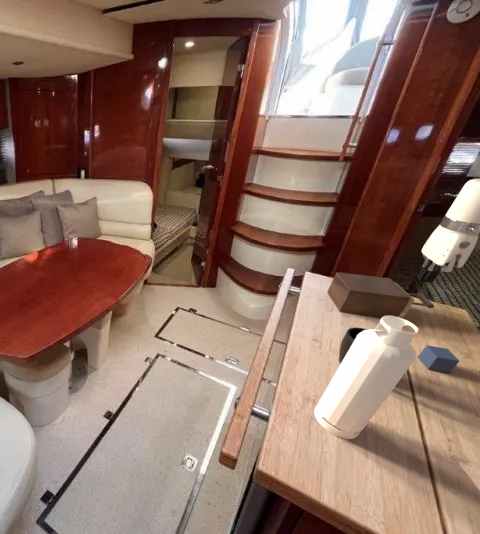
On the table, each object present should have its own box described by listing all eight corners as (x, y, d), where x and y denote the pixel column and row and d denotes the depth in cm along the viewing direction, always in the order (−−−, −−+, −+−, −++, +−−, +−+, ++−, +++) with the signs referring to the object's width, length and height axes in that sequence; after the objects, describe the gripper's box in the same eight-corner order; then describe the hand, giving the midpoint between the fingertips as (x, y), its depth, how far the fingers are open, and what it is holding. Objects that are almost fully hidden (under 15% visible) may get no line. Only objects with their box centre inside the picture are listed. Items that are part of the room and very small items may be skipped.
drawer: (411, 302, 102) (421, 285, 99) (430, 321, 94) (443, 304, 90) (337, 292, 108) (345, 276, 104) (350, 309, 99) (359, 292, 96)
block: (438, 360, 81) (447, 348, 79) (449, 373, 78) (459, 361, 76) (417, 357, 83) (426, 345, 80) (427, 369, 79) (437, 357, 77)
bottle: (367, 443, 63) (445, 344, 49) (322, 433, 65) (385, 335, 51) (348, 409, 70) (412, 313, 56) (308, 401, 72) (360, 307, 58)
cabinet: (378, 299, 105) (390, 278, 101) (396, 320, 96) (410, 298, 92) (327, 292, 110) (336, 271, 105) (339, 311, 100) (350, 290, 96)
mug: (348, 385, 75) (365, 358, 71) (327, 351, 85) (341, 325, 81) (387, 392, 73) (408, 364, 69) (361, 356, 83) (378, 329, 79)
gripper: (501, 237, 77) (456, 296, 86) (459, 217, 89) (424, 270, 98) (462, 234, 79) (423, 292, 88) (426, 214, 91) (395, 267, 101)
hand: (424, 280), depth 93 cm, fingers closed
